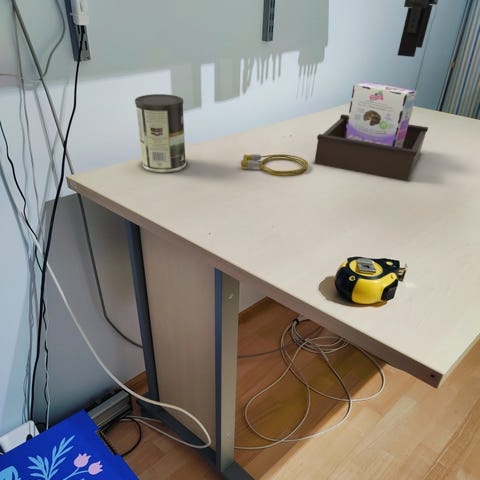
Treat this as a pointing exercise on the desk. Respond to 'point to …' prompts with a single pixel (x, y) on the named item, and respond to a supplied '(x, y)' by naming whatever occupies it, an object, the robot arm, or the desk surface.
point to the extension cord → (251, 160)
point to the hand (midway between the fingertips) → (410, 51)
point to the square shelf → (369, 152)
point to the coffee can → (161, 132)
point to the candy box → (379, 114)
